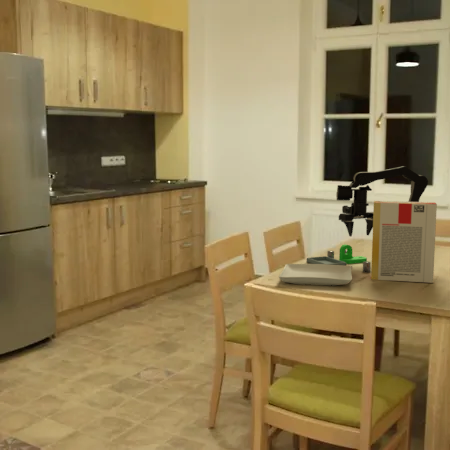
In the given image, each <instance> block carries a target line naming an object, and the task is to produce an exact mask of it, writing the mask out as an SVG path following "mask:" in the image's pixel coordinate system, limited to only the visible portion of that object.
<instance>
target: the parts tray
mask: <svg viewBox="0 0 450 450" xmlns="http://www.w3.org/2000/svg"><path fill="white" fill-rule="evenodd" d="M306 263H307V264H328V265H343V266H347V264H346V262H343V261H340V260H339V259H336V258H334V259H333V258H330V257H327V255H324V256H311V257H306Z"/></svg>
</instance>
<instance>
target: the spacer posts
mask: <svg viewBox="0 0 450 450" xmlns="http://www.w3.org/2000/svg"><path fill="white" fill-rule="evenodd" d="M326 253H327V255H326V256H327V257H330V258H333V259H335V251H334V250H327V252H326ZM346 253H347V249H346V250H345V254H346ZM371 265H372V261H368V260H367V261H365V262H363V263H362V272H363V273H371Z"/></svg>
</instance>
